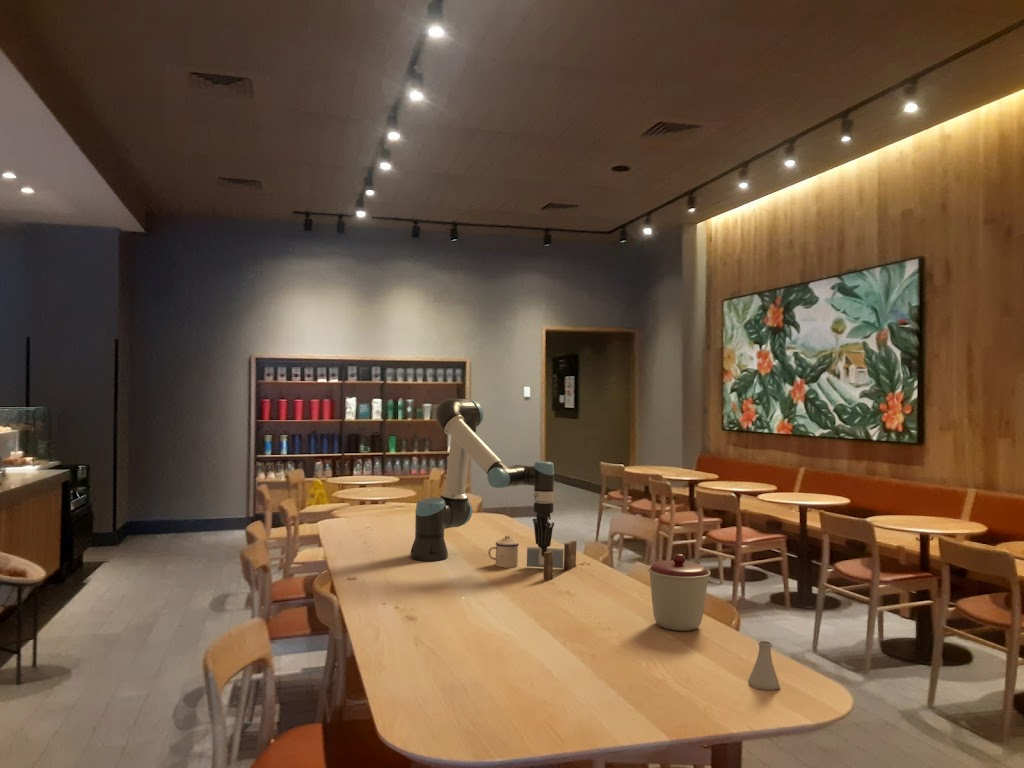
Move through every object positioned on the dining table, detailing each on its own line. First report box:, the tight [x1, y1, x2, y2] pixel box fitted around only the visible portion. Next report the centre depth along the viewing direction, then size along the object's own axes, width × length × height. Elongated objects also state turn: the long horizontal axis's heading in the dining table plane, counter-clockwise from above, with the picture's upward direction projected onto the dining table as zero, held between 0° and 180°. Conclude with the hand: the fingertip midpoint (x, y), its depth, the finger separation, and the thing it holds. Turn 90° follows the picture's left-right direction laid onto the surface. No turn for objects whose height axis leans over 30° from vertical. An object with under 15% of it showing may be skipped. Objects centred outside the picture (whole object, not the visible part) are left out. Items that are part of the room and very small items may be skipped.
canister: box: [647, 553, 711, 632], centre depth 224 cm, size 18×18×21 cm
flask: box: [747, 639, 781, 691], centre depth 179 cm, size 7×7×10 cm
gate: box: [526, 545, 564, 569], centre depth 294 cm, size 14×1×8 cm, turn 85°
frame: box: [542, 540, 577, 581], centre depth 287 cm, size 2×28×10 cm, turn 154°
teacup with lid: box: [487, 534, 520, 569], centre depth 297 cm, size 12×9×12 cm
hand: (542, 564), depth 291 cm, fingers closed
